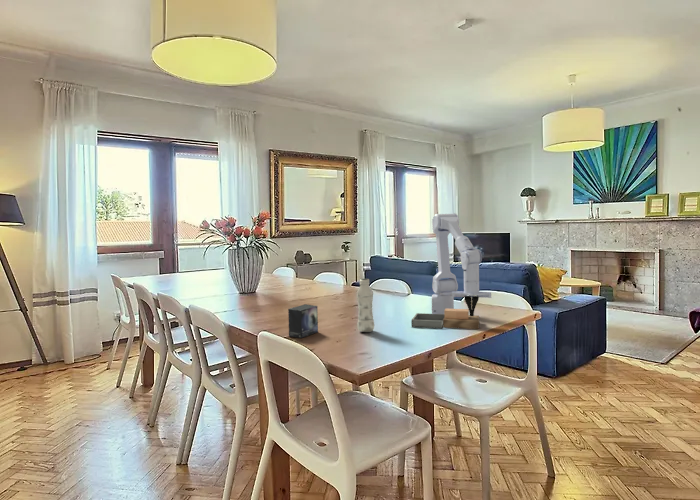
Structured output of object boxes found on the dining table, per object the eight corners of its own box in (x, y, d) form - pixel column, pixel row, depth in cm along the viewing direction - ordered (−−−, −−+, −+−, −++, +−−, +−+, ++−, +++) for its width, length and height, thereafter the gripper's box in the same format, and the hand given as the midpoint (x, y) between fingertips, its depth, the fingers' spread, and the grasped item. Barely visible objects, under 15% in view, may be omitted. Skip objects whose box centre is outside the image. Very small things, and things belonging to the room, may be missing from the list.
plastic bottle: (376, 330, 167) (375, 278, 166) (371, 334, 160) (370, 280, 159) (360, 329, 169) (359, 278, 168) (355, 333, 163) (353, 280, 161)
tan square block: (444, 318, 170) (444, 310, 170) (445, 315, 174) (445, 308, 174) (456, 318, 169) (456, 311, 168) (457, 316, 173) (457, 308, 173)
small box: (302, 338, 158) (300, 310, 157) (288, 336, 161) (286, 308, 160) (319, 332, 167) (318, 305, 166) (305, 330, 170) (304, 303, 169)
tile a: (456, 318, 168) (456, 311, 168) (457, 316, 173) (457, 308, 173) (468, 319, 167) (468, 311, 167) (468, 316, 171) (468, 309, 171)
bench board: (443, 327, 168) (443, 319, 167) (445, 321, 177) (445, 314, 177) (478, 329, 164) (478, 321, 163) (479, 323, 173) (479, 315, 173)
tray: (411, 327, 170) (411, 320, 170) (416, 319, 182) (416, 313, 182) (441, 328, 166) (441, 321, 166) (444, 320, 179) (444, 314, 178)
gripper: (451, 282, 166) (451, 317, 167) (491, 282, 162) (491, 318, 163) (452, 279, 173) (453, 313, 174) (491, 280, 169) (491, 314, 170)
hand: (471, 315), depth 169 cm, fingers closed
